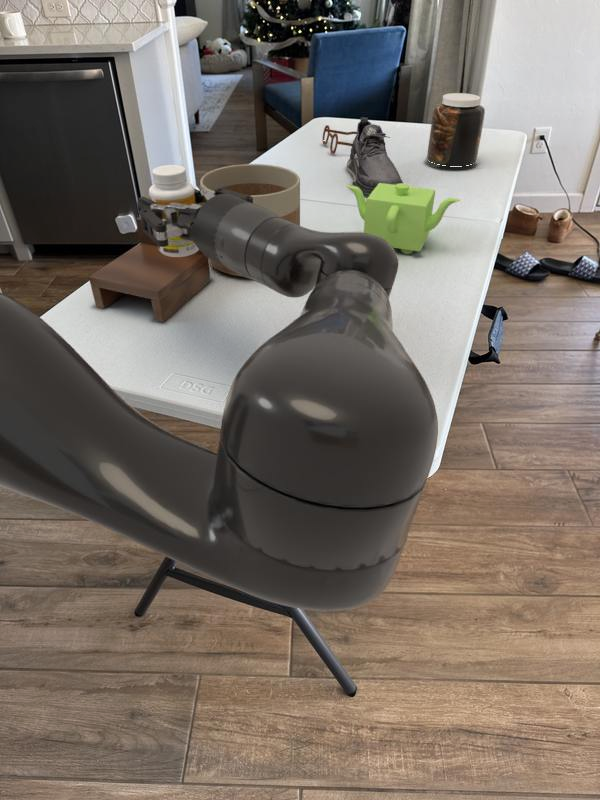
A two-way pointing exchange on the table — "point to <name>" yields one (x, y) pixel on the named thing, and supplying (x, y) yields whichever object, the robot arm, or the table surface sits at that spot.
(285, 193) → the planter
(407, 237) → the teapot
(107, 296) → the shelf
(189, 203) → the supplement bottle
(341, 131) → the glasses
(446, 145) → the jar
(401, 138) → the table surface
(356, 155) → the shoe
